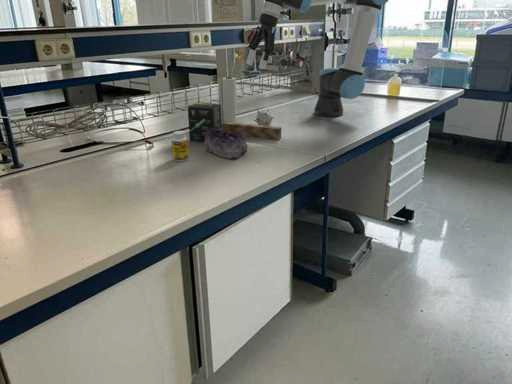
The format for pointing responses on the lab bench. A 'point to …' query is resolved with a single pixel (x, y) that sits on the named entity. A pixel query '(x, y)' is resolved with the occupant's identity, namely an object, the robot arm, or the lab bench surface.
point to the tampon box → (203, 120)
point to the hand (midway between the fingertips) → (255, 66)
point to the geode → (225, 143)
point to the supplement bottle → (179, 146)
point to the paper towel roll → (227, 99)
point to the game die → (264, 118)
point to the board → (253, 130)
